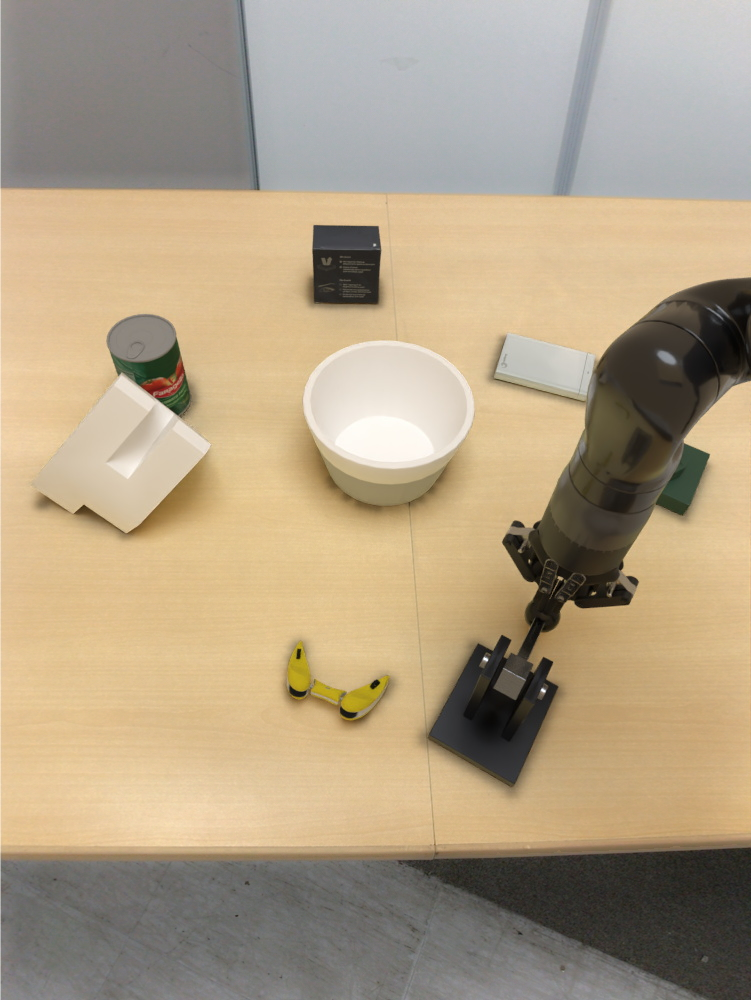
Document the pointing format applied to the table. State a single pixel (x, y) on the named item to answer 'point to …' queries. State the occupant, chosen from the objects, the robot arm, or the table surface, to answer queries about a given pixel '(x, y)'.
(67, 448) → the slotted wedge
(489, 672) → the bracket
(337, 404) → the bowl
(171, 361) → the canned tomato
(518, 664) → the lever
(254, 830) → the table surface
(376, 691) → the yellow bent piece
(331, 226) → the box
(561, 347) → the hard drive
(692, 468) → the button box
